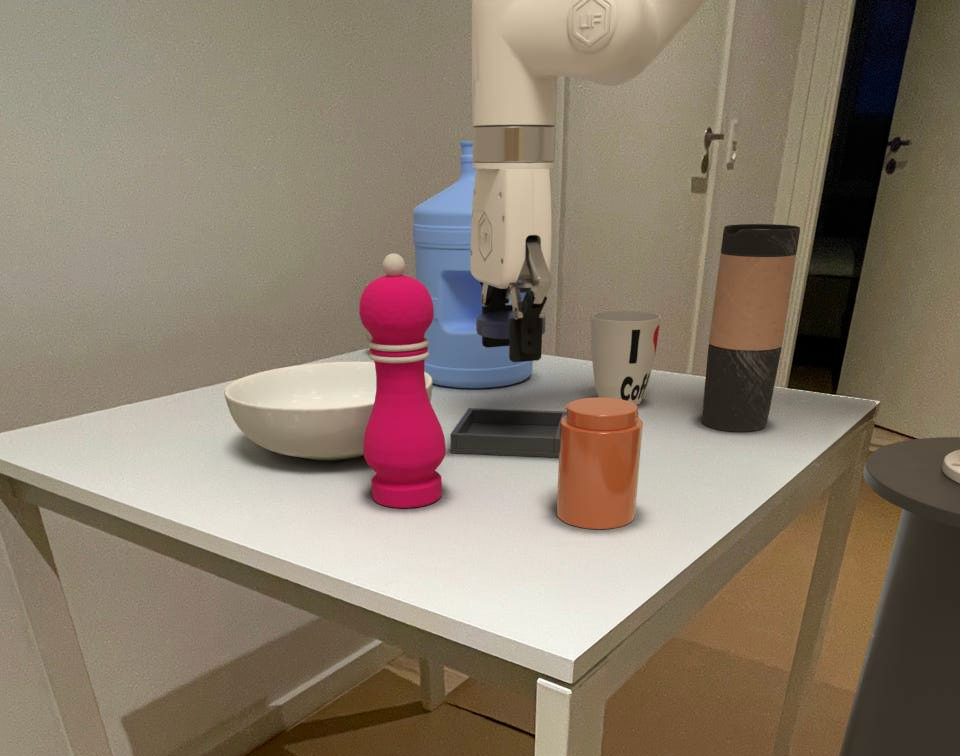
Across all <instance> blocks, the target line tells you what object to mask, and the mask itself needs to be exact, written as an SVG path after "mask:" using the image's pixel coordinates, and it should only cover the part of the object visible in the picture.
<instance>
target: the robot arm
mask: <svg viewBox="0 0 960 756" xmlns="http://www.w3.org/2000/svg"><path fill="white" fill-rule="evenodd" d="M707 1H708V0H471V103H472V104H471V105H472V107H471V110H472V111H471V113H472V115H471V116H472V117H471V118H472V121H471V123H472V128H471V129H472V131H471V133H472V136H471V137H472V138H471V141H472V148H473V169H476V174H475V182H474V191H473V203H472V223H471V255H470V270H471V274H472V276H473V277H474V278H475V279H476V280H478V281H480V285H481V286H482V294H481V303H482V305H483V307H482V314H483V313H488V312H494V311H511V310H513V314H514V318H510V339H494V338H487V337H483V336H482V345H483V346H484V347H486V348H488V347H501V346H509V359H510V360H511V361H512V362H525V361H533V362H535V361H539V360H541V359H542V351H543V350H542V348H543V334H542V320H543V317H544V315H545V314H546V311H545V305H546V303H547V300H548V297H547V296H548V293H549V290H550V288H551V285H552V276H551V266H552V247H553V246H552V245H553V243H552V239H553V238H552V237H553V233H552V231H553V227H552V226H553V225H552V223H553V221H552V220H553V219H552V191H551V174H550V170H553V169H555V151H556V123H557V122H556V121H557V96H558V94H557V93H558V76H559V77H567V78H573V79H580V80H584V81H586V82H591V83H594V84H597V85H600V86H605V87H616V86H622V85H624V84H626V83H628V82H630V81H632V80H634V79H635V78H636V77H637V76H640V74H641V73H642V72H643V71H644V70H646V68H647V67H648V66H650V65H651V64H652V62H653V61H655V59H656V58H657V57H658V56H659V55H660V54H661V53H662V52H663V51H664V50H665V49H666V47H667V46H668V45H669V44H670V43H671V42H672V41H673V40H674V38H676V36H677V35H678V34H679V33H680V32H681V31H682V30H683V29H684V28H685V26H687V25H688V23H689V22H690V21H691V20H692V19H693V18H694V16H695V15H696V14H697V13H698V12H699V11H700V10H701V9H702V7H703V6H704V5H705V4H706V3H707ZM517 281H521V282H523V283H517ZM520 293H526V294H525V296H524V299H523V301H522V300H521V294H520ZM510 295H511V301H512V305H506V304H508V303H509V300H510ZM942 471H943V472H944V474H945V475H946V476H947V477H949V478H950V479H951V480H953V481H955V482H957V483H959V484H960V450H956V451H953V452H951V453H949V454H948V455H947V456H945V458H944V461H943V465H942Z"/></svg>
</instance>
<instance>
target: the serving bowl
mask: <svg viewBox="0 0 960 756" xmlns="http://www.w3.org/2000/svg"><path fill="white" fill-rule="evenodd" d="M424 375H425V384H426V390H427V394H428V397H429V400H430V402H431V400H432V392H433V384H434V383H433V381H432V378H431V376H430V375H429V374H428V373H426V372H424ZM223 391H224V392H223V394H224V398H225V399H224V400H225V402H226V405H227V408H228V411H229V413H230V416H231V417H232V418H231V419H232V420H233V421H234V423H235V424H236V426H237V428H239V430H240V431H241V432H242V433H243V435H245V436H246V437H247V438H248V439H249V440H251V441H252V442H253V443H255V444H256V445H258V446H260V447H261V448H264V449H265V450H268V451H270V452H273V453H276V454H279V455H285V456H289V457H295V458H302V459H303V458H304V459H307V460H313V461H341V460H351V459H356V458H361V457H364V454H363V441H364V435H365V430H366V427H367V424H368V421H369V418H370V415H371V412H372V409H373V405H374V402H375V395H376V370H375V362H374V361H330V362H317V363H307V364H297V365H291V366H285V367H278V368H273V369H269V370H268V369H267V370H264V371H260V372H256V373H253V374H250V375H246V376H243V377H241V378H238V379H236V380H234V381H233V382H231V383H229V384H228V385H227V386H226V387H225V388H224V390H223Z"/></svg>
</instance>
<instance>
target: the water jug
mask: <svg viewBox="0 0 960 756" xmlns="http://www.w3.org/2000/svg"><path fill="white" fill-rule="evenodd" d="M459 145H460V147H461V148H460V149H461V150H460V151H461V155H460V156H459V157H460V158H459V159H460V176H459V178H458V180H457V181H456V182H454V183H453V184H451V185H449V186H448V187H446V188H445V189H442V190H441V191H440V192H439V191H438V193H436V194H435V195H432V196H431V197H430V198H428V199H427V200H425V201H423V202H421V203H419V204H418V205H416V206H415V207H414V208H413V212H412V213H413V214H412V215H413V216H412V217H413V218H412V219H413V223H412V240H413V246H414V261H415V262H414V264H415V279H417V280H418V281H420V282H421V283H422V284H423V285H424V286H425V287H426V288H427V290H428V291H429V293H430V295H431V298H432V302H433V308H434V317H433V321H432V323H431V325H430V327H429V328H428V329H427V331H426V332H425V335H424V338H426V339H428V341H429V344H428V346H427V347H428V351H429V356H428V357H427V358H426V359H425V366H424V372H426V373H428V374H429V375H430V376H431V378H432V381H433V384H434V385H436V386H437V385H438V386H443V387H448V388H456V389H490V388H498V387H499V388H500V387H507V386H511V385H515V384H518V383H521V382H523V381H525V380H526V379H528V378H529V377H530V376H531V374H532V372H533V365H534V364H533V362H534V361H525V362H512V361H511V360H510V359H509V346H501V347H488V348H486V347H484V346H483V345H482V336H480V335H478V333H477V331H476V321H477V316H478V315H480V314H482V307H483V305H482V303H481V294H482V286H481V285H480V281H478V280H476V279H475V278H474V277H473V276H472V274H471V270H470V255H471V223H472V203H473V191H474V182H475V174H476V169H473V148H472V140H460V141H459ZM517 283H523V282H521V281H517ZM520 294H521V300H522V301H523V299H524V296H525V294H526V293H520ZM506 305H512V301H511V295H510V300H509V303H508V304H506Z"/></svg>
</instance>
